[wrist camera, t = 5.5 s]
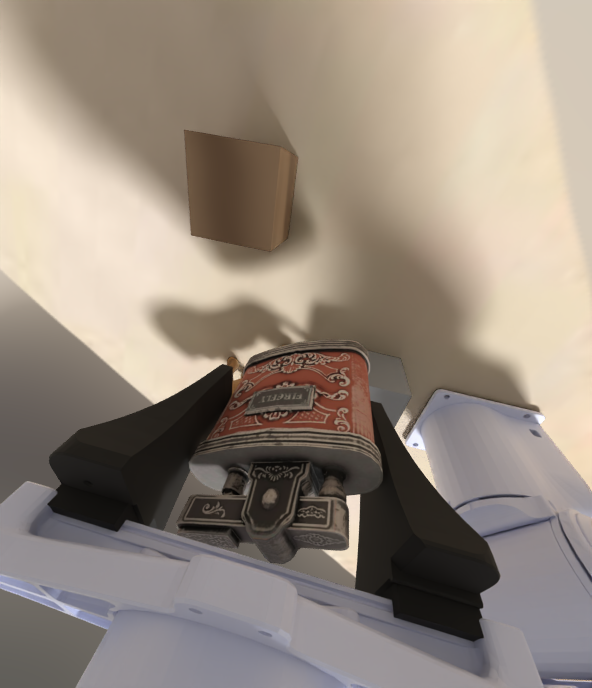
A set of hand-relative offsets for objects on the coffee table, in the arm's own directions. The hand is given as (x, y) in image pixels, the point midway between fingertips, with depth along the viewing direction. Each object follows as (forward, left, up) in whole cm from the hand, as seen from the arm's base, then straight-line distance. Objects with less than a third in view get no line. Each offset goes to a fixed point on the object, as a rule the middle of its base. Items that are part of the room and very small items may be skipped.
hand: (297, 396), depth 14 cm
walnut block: (+6, -9, -10) cm, 14 cm away
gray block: (-5, +4, -10) cm, 12 cm away
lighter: (0, 0, -3) cm, 3 cm away
